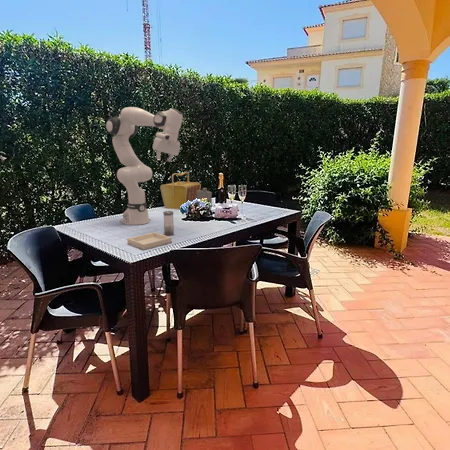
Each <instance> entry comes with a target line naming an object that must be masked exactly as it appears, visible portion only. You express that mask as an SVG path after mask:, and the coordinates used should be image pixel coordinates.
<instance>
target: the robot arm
mask: <svg viewBox="0 0 450 450" xmlns="http://www.w3.org/2000/svg"><path fill="white" fill-rule="evenodd" d="M182 123H183V113H182V112H181V111H179V109H176V108H173V107H172V108H169V109H168V110H163V111H157V112H156V113H155V114H153V113H151V112H149V111H147V110H145V109H142V108H139V107H138V106H137V107H136V106H128V107H124V108H122V109H121V110H120V115H119V116H117V115H113V117H111V118H109V119H108V120H107V121H106V122H105V128H106V131H107V134H110V135H113V137H112V138H111V139H112V146H113V149H114V151H115V153H116V155H117V157H118V160H119V162H120V163H121V165H124V167H121V168H119V169H117V172H116V177H117V180H118V181H119V182H120V183H121V184H122V185H123V186H124V187H125V189H126V192H127V196H128V203H127V204H126V205H127V208H126V209H125V211H124V212H123V214H122V218H120V219H119V222H121V223H122V224H124V225H126V226H129V225H130V226H132V225H136V226H137V225H138V226H139V225H145V224H148V223H149V222H150V221H151V218H150V217H149V209H147V202H146V192H145V190H144V189H143V188H140V186H139V183H144V182H148V181H150V180H152V178H153V170H152V169H151V167H149V165H148V166H147V164H144V162H142V161H141V160H140V159H139V158H138V156H137V155H136V154H135V151H134V149H133V147H132V145H131V144H130V143H131V142H129V141H130V140H131V139H133V138H134V136H136V135H137V133H138V131H139V127H155V128H158V129H161V130H163V131H160V132H159V131H158V132H156V133H155V138H154V140H153V142H152V143H153V144H152V150H154V151H156V159H157V160H161V158H162V157H161V154H162V153H164V154H169V156H168V157H167V158H166V160H167V162H168V163H170V162H172V159H173V158H174V156H179V153H180V150H181V142H180V140H178V137H179V134H180V133H179V132H180V130H181V128H182ZM129 139H130V140H129Z"/></svg>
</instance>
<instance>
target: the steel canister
mask: <svg viewBox="0 0 450 450" xmlns="http://www.w3.org/2000/svg"><path fill="white" fill-rule="evenodd" d="M174 227H175V226H174V211H171V210H167V211H166V210H165V211H163V228H164V229H163V231H164V232H163V233H164V234H163V235H165V236H169V237H172V236H175V232H174V231H175V229H174Z"/></svg>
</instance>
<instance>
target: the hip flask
mask: <svg viewBox="0 0 450 450" xmlns="http://www.w3.org/2000/svg"><path fill="white" fill-rule="evenodd" d="M212 195H213V193H212V191H209V190H208V188H207V187H203V188H202V189H200V190H197V199H202V198H207V199H208V200H209V202H210V203H211V205H213V204H212V202H213V201H212V200H213V199H212V198H213V197H212Z"/></svg>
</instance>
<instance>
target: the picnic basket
mask: <svg viewBox="0 0 450 450" xmlns="http://www.w3.org/2000/svg"><path fill="white" fill-rule="evenodd" d="M185 174H187V181H180V180H179V181H176V182H174V176H178V177H182V176H184V175H185ZM159 188H160V192H161V197H162V203H163V206H164V207H165V208H167V209H172V210H181V209H180V206H181V205H182V204H184V203H186V202H187V201H188V200H190V201H193V200H194V199H196V198H197V190H201V183H200V182H198V181H197V182H196V181H195V182H194V181H190V174H189V172H188V171H184V172H182V173H172V175H171V183H166V184H161V185H160V187H159Z"/></svg>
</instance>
